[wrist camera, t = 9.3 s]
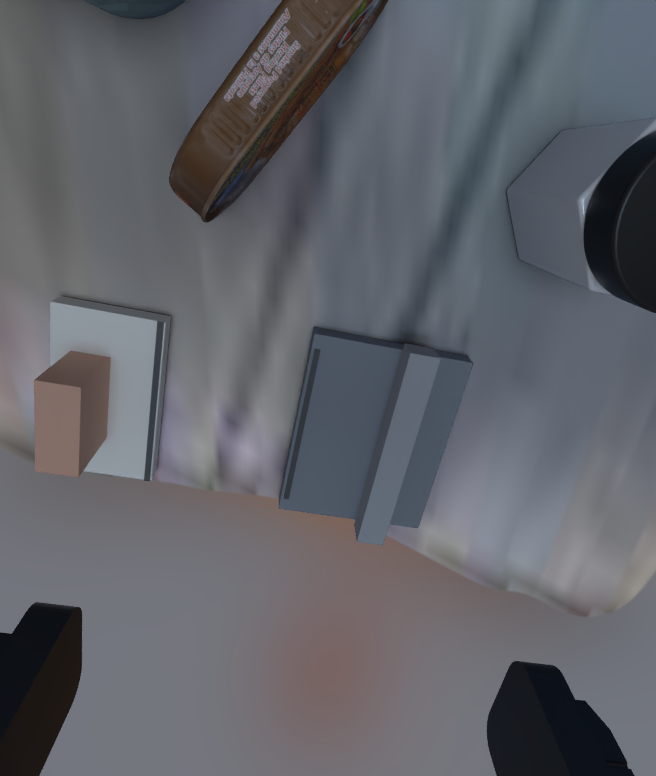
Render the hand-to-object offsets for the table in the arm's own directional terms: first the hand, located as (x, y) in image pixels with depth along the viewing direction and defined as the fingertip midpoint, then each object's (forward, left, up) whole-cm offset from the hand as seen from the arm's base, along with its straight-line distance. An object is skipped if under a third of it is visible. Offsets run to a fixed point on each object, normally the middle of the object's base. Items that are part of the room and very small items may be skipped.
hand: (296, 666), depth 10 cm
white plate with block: (+12, +8, -27) cm, 31 cm away
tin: (+3, -12, -28) cm, 30 cm away
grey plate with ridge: (-7, +8, -27) cm, 29 cm away
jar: (-16, -10, -28) cm, 33 cm away
